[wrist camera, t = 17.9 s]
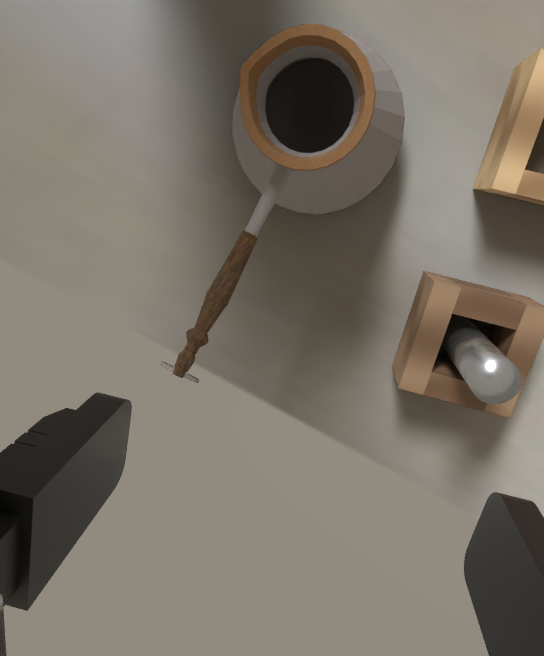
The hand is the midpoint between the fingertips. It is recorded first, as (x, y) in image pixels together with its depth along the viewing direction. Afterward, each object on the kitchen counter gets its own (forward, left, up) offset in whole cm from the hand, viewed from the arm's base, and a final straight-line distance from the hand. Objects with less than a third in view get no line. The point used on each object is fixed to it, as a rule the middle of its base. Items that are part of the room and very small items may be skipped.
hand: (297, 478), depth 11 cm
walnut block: (+2, +11, -29) cm, 31 cm away
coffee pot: (-5, -4, -29) cm, 29 cm away
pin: (+2, +11, -29) cm, 31 cm away
